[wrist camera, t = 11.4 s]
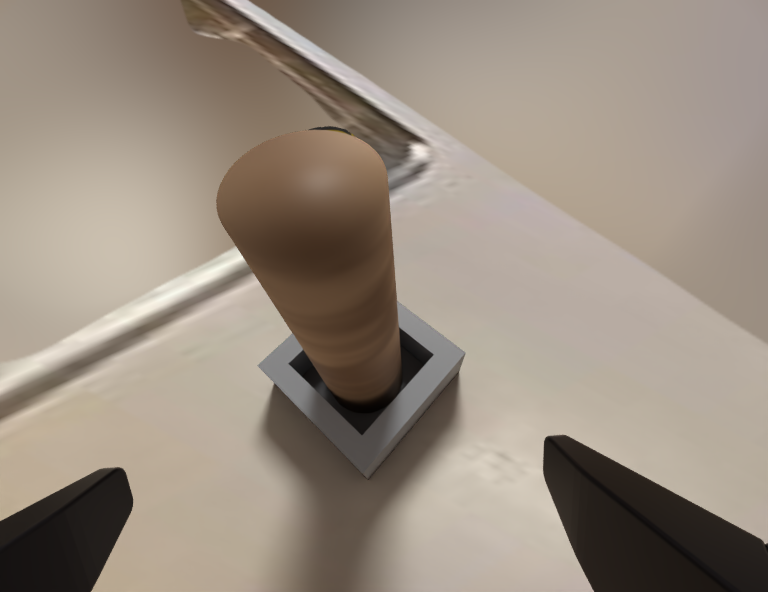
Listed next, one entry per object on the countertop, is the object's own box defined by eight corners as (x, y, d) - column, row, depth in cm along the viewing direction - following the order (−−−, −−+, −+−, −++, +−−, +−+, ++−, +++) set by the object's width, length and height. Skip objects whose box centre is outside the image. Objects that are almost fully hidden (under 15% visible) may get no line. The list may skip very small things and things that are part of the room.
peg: (367, 429, 21) (293, 288, 8) (313, 379, 23) (182, 195, 10) (417, 371, 23) (423, 174, 10) (364, 328, 24) (308, 111, 11)
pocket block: (368, 479, 20) (362, 473, 18) (273, 382, 23) (257, 365, 21) (459, 371, 23) (465, 352, 20) (364, 297, 26) (359, 272, 23)
